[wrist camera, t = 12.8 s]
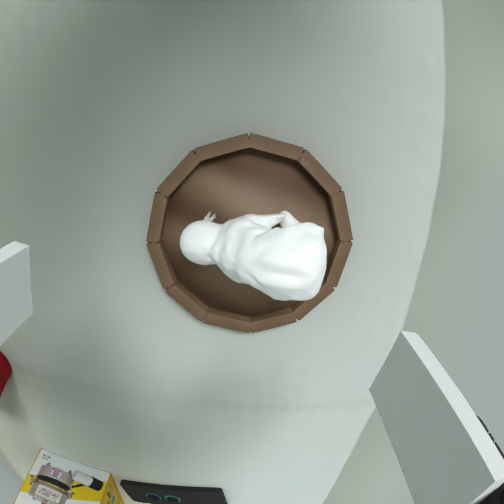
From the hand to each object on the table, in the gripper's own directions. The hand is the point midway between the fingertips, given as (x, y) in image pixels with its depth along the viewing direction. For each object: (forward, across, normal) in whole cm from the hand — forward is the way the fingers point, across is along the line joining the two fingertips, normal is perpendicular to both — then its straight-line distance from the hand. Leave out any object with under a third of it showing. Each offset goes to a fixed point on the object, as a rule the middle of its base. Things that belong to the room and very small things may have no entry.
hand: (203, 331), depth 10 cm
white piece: (+20, +2, -2) cm, 20 cm away
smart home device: (+21, 0, -55) cm, 59 cm away
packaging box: (+20, -20, -62) cm, 68 cm away
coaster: (+21, +2, -2) cm, 21 cm away
